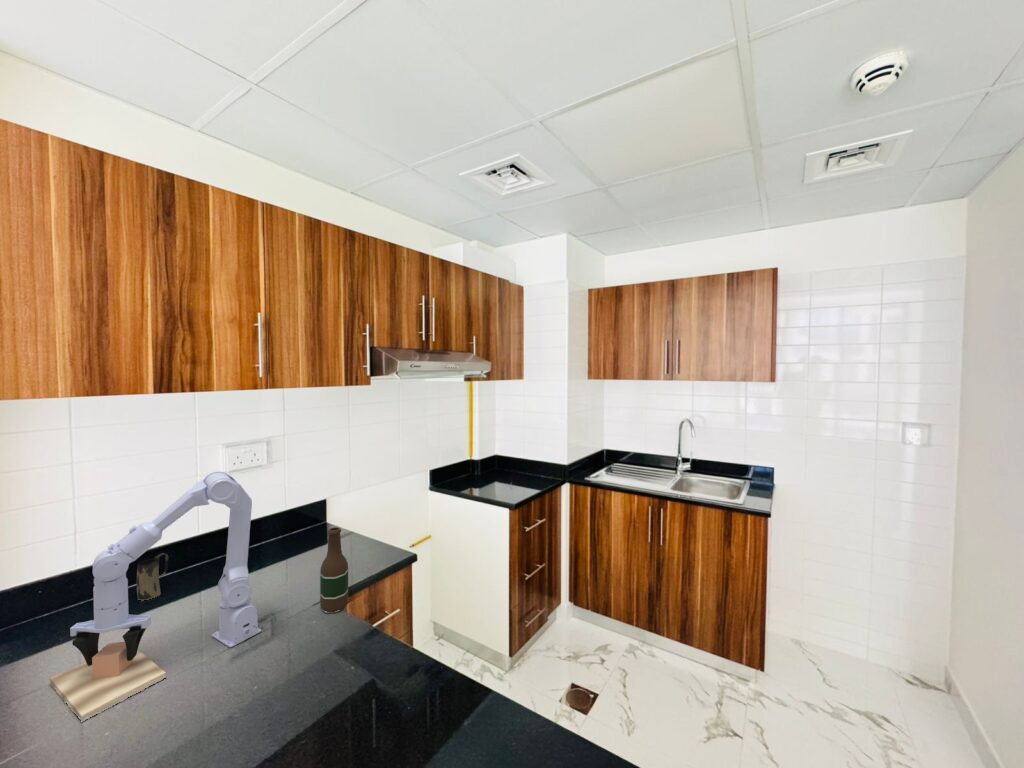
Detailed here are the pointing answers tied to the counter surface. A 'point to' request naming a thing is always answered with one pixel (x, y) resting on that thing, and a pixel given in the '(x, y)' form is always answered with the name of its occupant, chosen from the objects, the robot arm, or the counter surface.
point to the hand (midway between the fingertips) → (112, 660)
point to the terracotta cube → (110, 661)
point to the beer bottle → (334, 575)
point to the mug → (149, 578)
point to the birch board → (104, 685)
